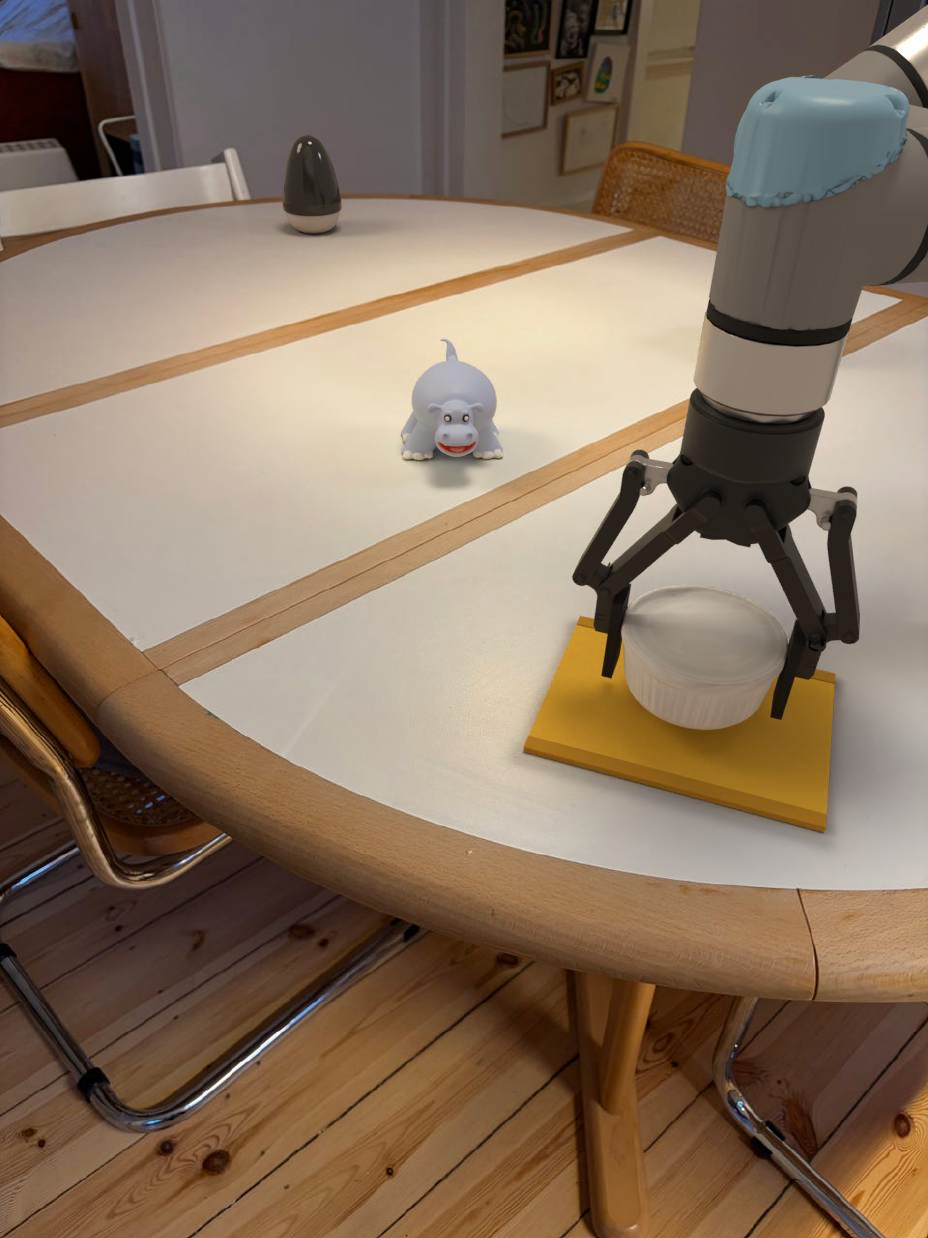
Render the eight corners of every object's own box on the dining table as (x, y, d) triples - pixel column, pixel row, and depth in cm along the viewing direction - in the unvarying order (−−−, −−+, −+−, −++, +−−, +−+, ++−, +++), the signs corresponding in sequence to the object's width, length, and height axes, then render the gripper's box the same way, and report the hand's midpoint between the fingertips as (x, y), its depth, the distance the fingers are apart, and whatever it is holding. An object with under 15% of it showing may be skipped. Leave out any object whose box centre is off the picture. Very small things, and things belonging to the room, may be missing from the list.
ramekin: (687, 621, 73) (699, 565, 69) (805, 701, 65) (825, 642, 62) (580, 674, 67) (588, 616, 64) (696, 768, 60) (711, 708, 57)
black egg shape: (344, 221, 170) (339, 128, 161) (341, 237, 162) (336, 140, 152) (287, 221, 169) (279, 127, 160) (282, 237, 161) (273, 140, 152)
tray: (834, 678, 71) (835, 673, 71) (824, 833, 59) (826, 827, 59) (579, 620, 76) (580, 615, 76) (522, 751, 64) (523, 746, 64)
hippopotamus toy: (403, 486, 93) (401, 397, 87) (400, 420, 105) (398, 337, 99) (510, 484, 94) (515, 395, 88) (495, 419, 106) (498, 337, 100)
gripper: (977, 403, 53) (866, 692, 66) (573, 342, 59) (546, 618, 72) (989, 461, 47) (865, 765, 60) (541, 387, 53) (518, 678, 66)
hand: (692, 685), depth 66 cm, fingers closed on ramekin, 11 cm apart
